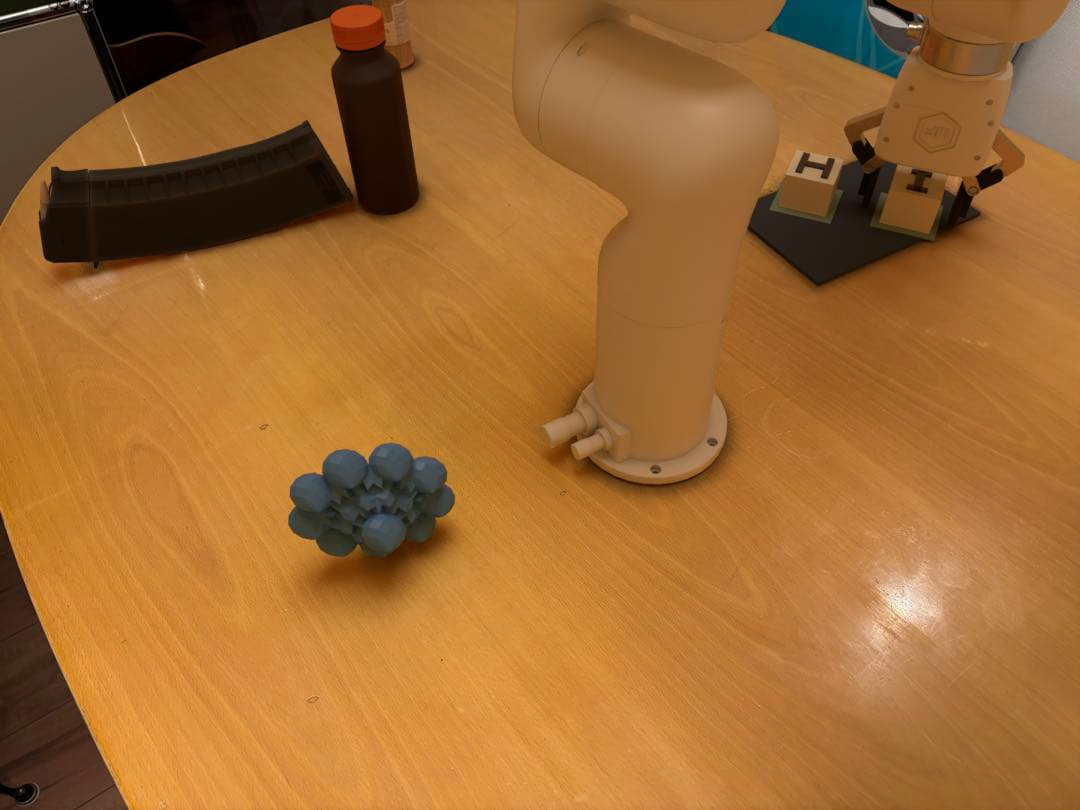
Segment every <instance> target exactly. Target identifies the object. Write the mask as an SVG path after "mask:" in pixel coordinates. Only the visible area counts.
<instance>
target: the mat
mask: <svg viewBox="0 0 1080 810" xmlns="http://www.w3.org/2000/svg"><path fill="white" fill-rule="evenodd" d="M897 165H898V164H894V163H890V162H887V161H886V162H885V163H884V164H883V165H882V166H881V170H880V173H879V176H878V179H877V183H876V186H875V189H874V192H873V195H872V198H871V201H870V204H869V207H868V208H867V207H866V208H861V205H862V202H863V199H864V196H862V195H858V192H859V188H860V185H861V181H862V178H863V175H864V172H863V170H862V167H863V166H862V165H861V163H860V162H859V160H858V159H856V160H854V161H852V162H849V163H846V164H843V166H842V170H841V174H840V178H839V181H838V185H837V189H836V192H835V195H834V197H833V200H832V202H831V205H830V207H829V210H828V212H827V215H826V217H822V216H817V215H813V214H809V213H804V212H800V211H796V210H791V209H787V208H783V207H779V206H778V205H779V200H780V196H781V191H782V186H783V182H784V179H782V182H781V183H780V186H779V188H778V190H776V191H774V192H771V193H769V194H765V195H763V196H761V197H760V196H759V198H758V200H757V203H756V205H755V208H754V211H753V213H752V216H751V219H750V222H749V225H748V228H747V230H749V231H750V232H752V234H754V235H755V236H757V237H758V238H759V239H760V240H762V242H764V243H765V244H766V245H767V246H769V247H770V248H771V249H772V250H774V251H775V252H776V253H777V254H778V255H780V256H781V257H782V258H783V259H784V260H786V261H787V262H788V263H789V264H790V265H791V266H793V267H794V268H795V269H796V270H798V271H799V272H800V273H801V274H803V275H804V276H805V277H806V278H808V279H809V280H810V281H811V282H812V283H813V284H815V285H816V286H817V287H818V286H821V285H824V284H826V283H828V282H831V281H832V280H835V279H837V278H839V277H841V276H845V275H846V274H849V273H851V272H853V271H855V270H858V269H860V268H862V267H865V266H867V265H869V264H871V263H874V262H876V261H878V260H880V259H883V258H885V257H888V256H890V255H892V254H894V253H896V252H897V253H898V252H899V251H901V250H903V249H906V248H908V247H910V246H913V245H915V244H917V243H920V242H922V241H924V240H926V241H931V242H935V240H936V236H937V235H939V234H940V233H943V232H945V231H947V230H950V229H951V228H950V227H948V226H947V222H948V217H949V213H950V210H951V207H952V205H953V202H954V200H955V197H956V195H955V194H953V193H952V192H950V191H948V190H947V189H946V188H945V190H944V193H943V197H942V201H941V204H940V207H939V209H938V212H937V214H936V217H935V220H934V222H933V225H932V228H931V230H930V233H929V234H926V233H922V232H918V231H913V230H909V229H905V228H900V227H896V226H891V225H887V224H883V223H879V220H880V217H881V214H882V211H883V208H884V205H885V202H886V199H887V196H888V192H889V189H890V186H891V183H892V180H893V177H894V174H895V171H896V168H897ZM981 213H982V212H981V211H980V210H978V209H977V208H975V207H973V206H972V205H970V207H969V209H968V212H967V214H966V217H965V218H961V217H958V219H957V221H956V224H955V226H954V227H957V226H959V225H961V224H963V223H966V222H968V221H971V220H972V219H975V218H977V217H979V216H981Z"/></svg>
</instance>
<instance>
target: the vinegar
mask: <svg viewBox="0 0 1080 810" xmlns="http://www.w3.org/2000/svg"><path fill="white" fill-rule="evenodd" d="M329 24H330V28H331V33H332V38H333V42H334V44H335V49H336V50H337V51H338V52H339V55H338V56H337V58H336V59H335V61H334V63H333V64H332V66H331V67H330V76H331V81H332V85H333V90H334V95H335V100H336V105H337V109H338V114H339V119H340V122H341V127H342V132H343V137H344V141H345V146H346V150H347V151H346V152H347V155H348V160H349V164H350V165H349V166H350V170H351V174H352V178H353V183H354V189H355V192H356V197H357V201H358V204H360V206H361V207H362V208H364V209H365V210H367V211H369V212H372V213H376V214H379V215H380V214H381V215H382V214H383V215H388V214H389V215H390V214H396V213H399V212H403V211H405V210H407V209H408V208H409V207H411V206H413V205H414V204H415V203H416V202H417V200H418V198H419V195H420V187H419V179H418V175H417V167H416V166H417V165H416V161H415V160H416V159H415V154H414V148H413V140H412V134H411V127H410V120H409V114H408V108H407V107H408V106H407V102H406V95H405V87H404V82H403V81H404V80H403V74H402V69H401V68H400V63H399V61H398V60H397V58H396V57H395V56H394V55H393V54H391V53H390V52H389V51H387V50H386V49H384V45H385V43H386V34H385V27H384V21H383V15H382V12H381V10H379V9H378V8H375V7H373V6H372V5H367V4H354V5H349V6H345V7H341V8H339V9H337V10H335V11H334V12H332V14H331V15H330V16H329Z"/></svg>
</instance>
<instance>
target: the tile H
mask: <svg viewBox="0 0 1080 810" xmlns="http://www.w3.org/2000/svg"><path fill="white" fill-rule="evenodd" d="M844 162H845V159H843V158H838V157H833V156H829V155H824V154H819V153H815V152H810V151H805V150H801V149H796V150H795V153H794V154H793V156H792V159H791V160H790V163H789V165H788V166H787V167H788V168H787V169H786V171H785V173H784V178H783V180H784V182H783V181H782V182H783V186H782V191H781V196H780V200H779V205H778V206H779V207H783V208H787V209H791V210H796V211H800V212H804V213H809V214H813V215H817V216H822V217H826V215H827V212H828V210H829V207H830V205H831V202H832V200H833V197H834V195H835V192H836V189H837V185H838V181H839V178H840V174H841V170H842V166H843V165H844Z"/></svg>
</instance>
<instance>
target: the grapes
mask: <svg viewBox="0 0 1080 810" xmlns="http://www.w3.org/2000/svg"><path fill="white" fill-rule="evenodd" d="M321 466H322V467H321V473H316V472H308V473H303V474H301V475H300V476H298V477H297V478H295V479H294V480H293V482H292V483H291V485H290V487H289V498H290V500H291V502H292V503H293V505H294V507H293V508H292V509H291V510H290V513H289V514H288V518H287V520H288V521H287V525H288V528H289V529H290V530H291V532H292V533H293V534H294V535H296V536H298V537H300V538H301V539H305V540H309V541H315V543H316V545H317V546H318V548H319V550H320V551H322V552H323V553H324V554H326V555H328V556H332V557H336V558H345V557H347V556H348V555H350V554H351V553H353V552H354V551H355V550H356V548H357V547H358V546H359V548H360V550H361V551H362V552H363V553H365V554H367V555H368V556H370V557H375V558H386V557H388V556H390V555H391V554H393V552H395V551H396V549H397V548H398V547H400V546H401V545H402V543H403V542H404V540H406V541H408V542H412V543H413V542H414V543H424V542H425V541H427V540H428V539H429V538H430V537H432V535H433V534H434V532H435V531H436V527H437V519H440V518H443V517H445V516H447V514H449V513H450V512H451V511H452V509H453V508H454V506H455V504H456V503H455V501H456V495H455V493H454V491H453V489H452V488H451V487H450V486H448V485H447V484H446V482H447V481H448V470H447V468H446V466H445V464H444V463H443V461H440V460H439V459H437V458H436V457H432V456H427V455H424V456H423V455H422V456H416V457H415V458H414V456H413V454H412V452H411V451H410V449H408V448H407V447H405V446H404V445H402V444H399V443H396V442H385V443H380V444H379V445H378V446H376V447H375V448H374V449H373V451H372V452H371V453H370V455H369V456H368V461H367V459H366V458H365V456H364V455H363V454H361V453H360V452H358V451H356V450H353V449H348V448H342V449H336V450H333V451H332V452H330V453H329V454H327V456H326V457H325V459H324V460H323V462H322V465H321Z"/></svg>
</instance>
